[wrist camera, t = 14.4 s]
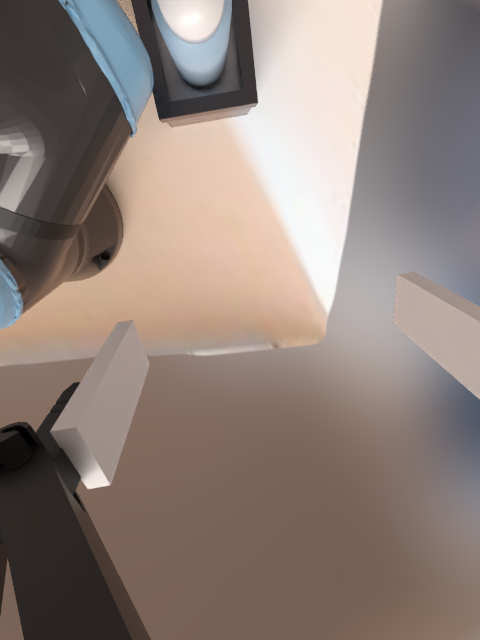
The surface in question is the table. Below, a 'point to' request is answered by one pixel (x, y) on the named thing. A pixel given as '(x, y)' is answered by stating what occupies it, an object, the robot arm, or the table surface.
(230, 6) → the white-capped blue bottle
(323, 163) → the table surface
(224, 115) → the square planter pot
